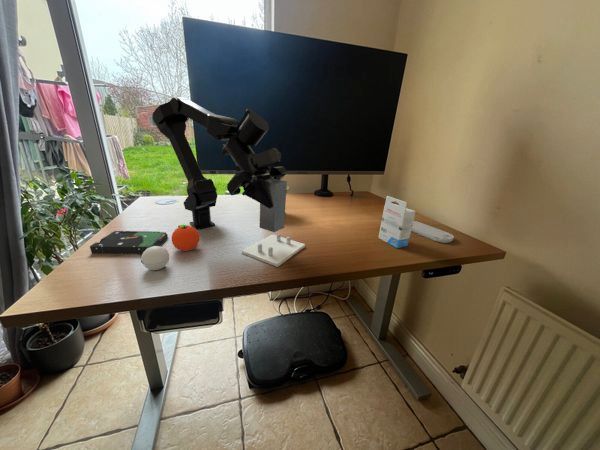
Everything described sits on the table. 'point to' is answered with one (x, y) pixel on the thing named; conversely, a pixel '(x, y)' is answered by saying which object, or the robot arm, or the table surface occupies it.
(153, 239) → the disk drive
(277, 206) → the grey metal block
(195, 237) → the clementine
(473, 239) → the table surface
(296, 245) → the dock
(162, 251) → the white egg
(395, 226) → the ink box
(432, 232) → the game console
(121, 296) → the table surface
